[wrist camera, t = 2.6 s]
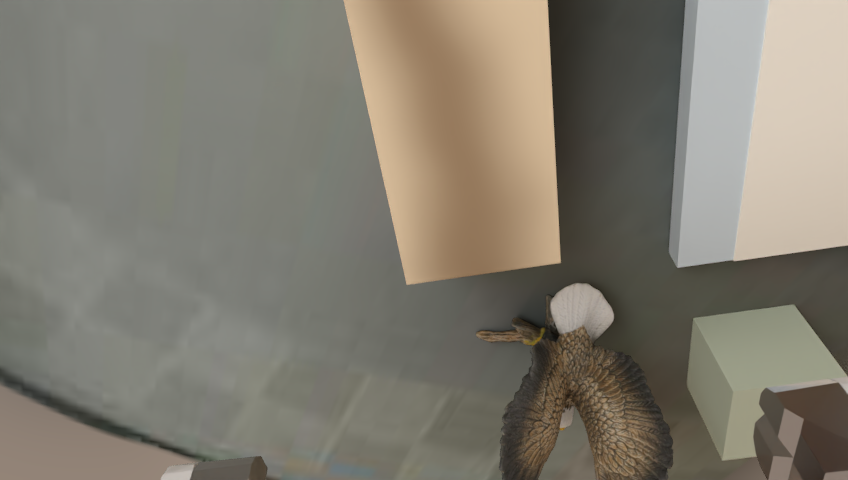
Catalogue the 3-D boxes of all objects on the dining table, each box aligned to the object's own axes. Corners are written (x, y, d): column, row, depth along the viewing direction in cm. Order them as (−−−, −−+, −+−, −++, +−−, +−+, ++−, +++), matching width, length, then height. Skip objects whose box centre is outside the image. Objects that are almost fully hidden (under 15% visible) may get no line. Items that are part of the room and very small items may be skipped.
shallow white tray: (1047, -127, 23) (1079, -122, 22) (932, 214, 31) (951, 230, 30) (690, -66, 23) (704, -58, 22) (668, 252, 31) (678, 269, 30)
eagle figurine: (485, 385, 36) (508, 541, 29) (466, 285, 32) (486, 436, 25) (627, 364, 36) (686, 517, 28) (625, 259, 32) (694, 406, 24)
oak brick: (513, -167, 22) (539, -155, 18) (538, 195, 30) (560, 262, 26) (333, -134, 22) (318, -114, 18) (405, 215, 30) (406, 284, 26)
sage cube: (793, 303, 34) (848, 376, 30) (778, 372, 36) (826, 447, 32) (692, 317, 34) (733, 391, 30) (685, 384, 37) (722, 460, 33)
